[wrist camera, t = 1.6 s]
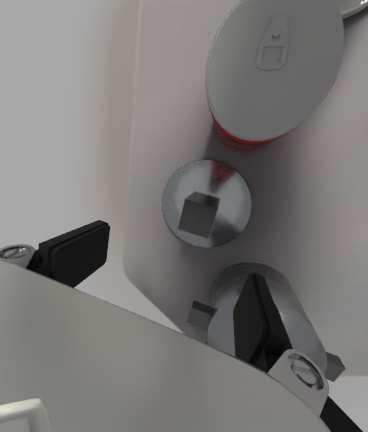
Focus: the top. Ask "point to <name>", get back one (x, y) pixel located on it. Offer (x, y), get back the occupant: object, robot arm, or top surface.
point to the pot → (287, 306)
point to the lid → (206, 203)
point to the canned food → (271, 68)
